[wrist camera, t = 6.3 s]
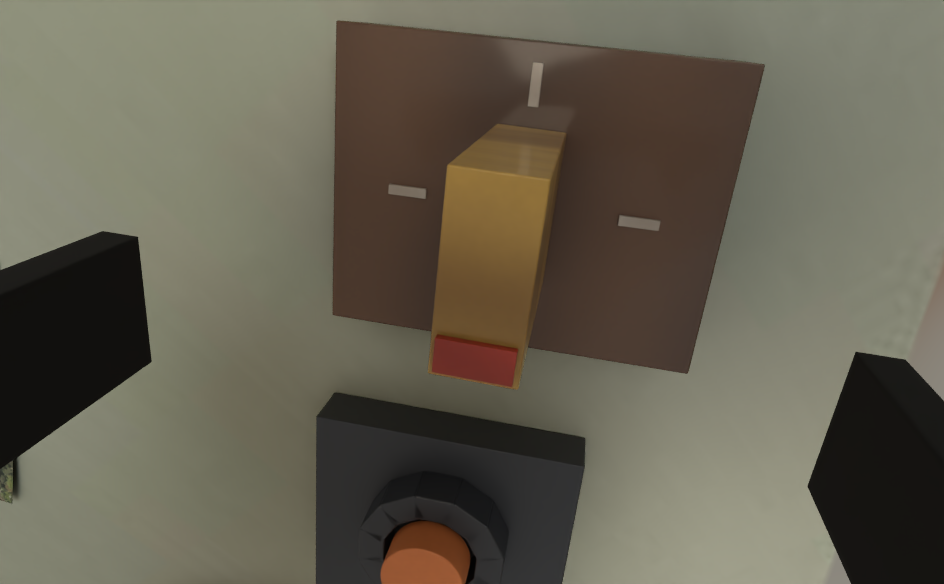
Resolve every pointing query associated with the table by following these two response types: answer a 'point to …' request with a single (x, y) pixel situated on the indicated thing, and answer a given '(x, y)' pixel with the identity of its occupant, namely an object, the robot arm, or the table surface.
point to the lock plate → (580, 184)
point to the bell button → (426, 556)
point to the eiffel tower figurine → (6, 482)
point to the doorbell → (442, 490)
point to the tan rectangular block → (494, 253)
